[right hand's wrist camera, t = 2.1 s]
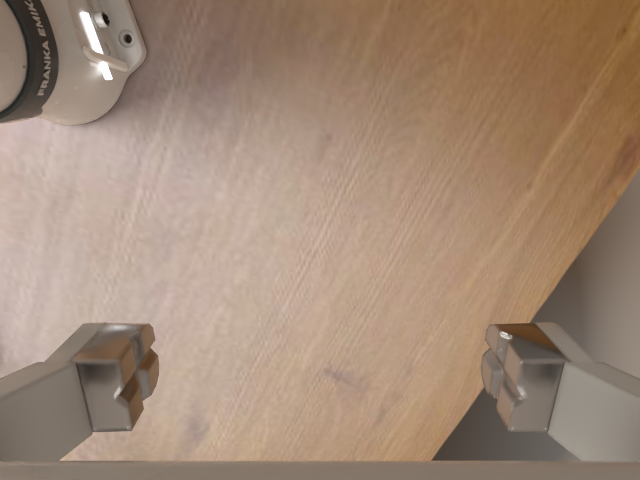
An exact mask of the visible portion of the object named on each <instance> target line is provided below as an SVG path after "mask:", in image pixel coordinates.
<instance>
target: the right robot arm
mask: <svg viewBox="0 0 640 480" xmlns="http://www.w3.org/2000/svg"><path fill="white" fill-rule="evenodd" d="M128 35H130V36H131V37H132V41H131V43H128V42H127V40H126V37H127V36H128ZM146 55H147V50H146V46H145V44H144V41H143V38H142V35H141V33H140V30H139V27H138V25H137V22H136V19H135V16H134V14H133V11H132V8H131V6H130V3H129V0H0V124H4V123H12V122H18V121H24V120H28V119H29V118H33V117H35V118H41V119H44V120H47V121H50V122H53V123H57V124H63V125H79V124H85V123H88V122H91V121H94V120H96V119H98V118H100V117H101V116H103V115H104V114H105V113H107V112H108V111H109V110H110V109H111V108H112V107H113V106H114V104H115V103H116V102H117V100H118V98H119V97H120V95H121V93H122V90H123V88H124V85H125V83H126V80H127V78H128V77H129V75H130V74H131V73H132V72H134V71H135V70H136V69H137V68H138V67H139V66H140V65H141V64H142V63H143V62H144V60H145V58H146ZM154 341H155V336H154V331H153V327H152V326H151V325H150V324H138V323H86V324H83V325H82V326H81V327H80V328H79V329H78V330H77V331H76V332H74V333H73V334H72V335H71V336H70V337H69V338H68V339H67V340H66V341H65V342H64V343H63V344H62V345H61V346H60V347H59V348H58V349H57V350H56V351H55V352H54V353H53V354H52V355H51V356H50V357H49V358H48V359H47V360H46V361H45V362H37V363H34V364H32V365H30V366H28V367H25V368H23V369H21V370H19V371H16V372H14V373H12V374H10V375H7V376H5V377H3V378H0V480H640V379H639V378H637V377H635V376H633V375H630V374H628V373H626V372H624V371H621V370H619V369H617V368H615V367H612V366H610V365H608V364H606V363H603V362H595V361H594V360H593V359H592V358H591V357H590V356H589V355H588V354H587V353H586V352H585V351H584V350H583V349H582V348H581V347H580V346H579V345H578V344H577V343H576V342H575V341H574V340H573V339H572V338H571V337H570V336H569V335H568V334H567V333H566V332H565V331H564V330H563V329H562V328H561V327H560V326H559V325H557V324H555V323H522V324H490V325H489V326H488V328H487V330H486V336H485V341H486V342H487V344H488V345H489V347H490V348H489V349H488V350H487V351H486V352H485V353H484V354H483V355H482V362H481V374H482V381H483V384H484V387H485V389H486V391H487V393H488V395H489V396H491V397H492V398H494V399H495V400H497V401H498V402H497V408H496V409H497V411H498V413H499V415H500V416H501V418H502V420H503V422H504V424H505V425H506V427H507V429H508V431H525V432H548V435H550V436H551V437H552V438H553V439H555V440H556V441H557V442H559V443H560V444H561V445H562V446H564V447H565V448H566V449H567V450H569V451H570V452H571V453H573V454H574V455H575V456H576V457H578V458H579V459H580V460H581V461H59V460H60V459H61V458H63V457H64V456H65V455H66V454H68V453H69V452H70V451H71V450H73V449H74V448H75V447H77V446H78V445H79V444H80V443H82V442H83V441H84V440H85V439H87V438H88V437H89V436H91V435H92V432H114V431H132V429H133V427H134V425H135V424H136V422H137V420H138V418H139V416H140V415H141V413H142V411H143V409H144V408H143V402H142V401H143V400H145V399H146V398H148V397H149V396H151V395H152V393H153V391H154V389H155V387H156V384H157V380H158V375H159V361H158V355H157V354H156V353H155V352H154V351H153V350H152V349H151V348H150V347H151V345H152V344H153V342H154Z"/></svg>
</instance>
